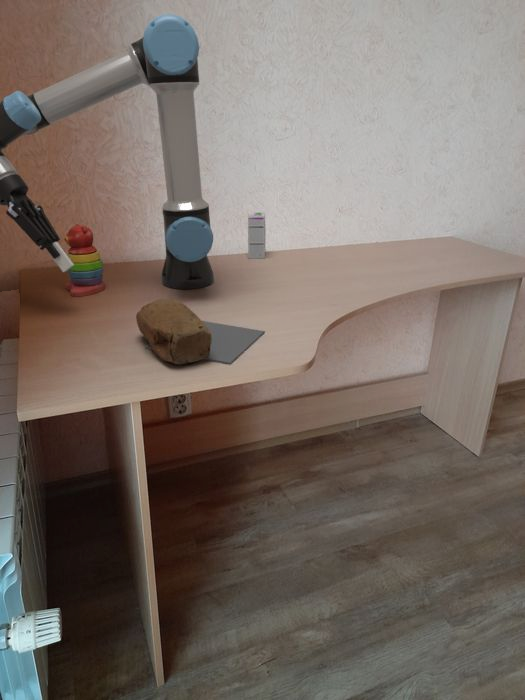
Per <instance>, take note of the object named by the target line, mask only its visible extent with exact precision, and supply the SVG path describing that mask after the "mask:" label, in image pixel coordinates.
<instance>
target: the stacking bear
mask: <svg viewBox="0 0 525 700" xmlns="http://www.w3.org/2000/svg"><path fill="white" fill-rule="evenodd" d="M64 242H65V243H66V244H67V245H68V246H69V248H68V250H67V252H68V253H67V256H68V257H69V258H70V260H71V261H72V262H73V264H74V266H72V267H71V268H70V269H68V270H67V274H68V276H69V278H70V281H67V282H66V283H65V285H64V287H65V289H66V290H68V291H69V295H70V296H71V297H74V296H75V297H79V296H80V297H85V296H91V295H94V294H98V293H100V292H102V291H104V289H105V284H104V282H103V274H104V267H103V266H104V265H103V259H102V258H101V254H100V251H99V250H97V247H95V246H94V245H93V243H94V234H93V231H92V229H91V228H89V227H88V226H86V225H81V224H77V223H76V224H75V225H74V226H72V227H70V228H69V230H68V232H67V233H66V235H65V236H64Z"/></svg>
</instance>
